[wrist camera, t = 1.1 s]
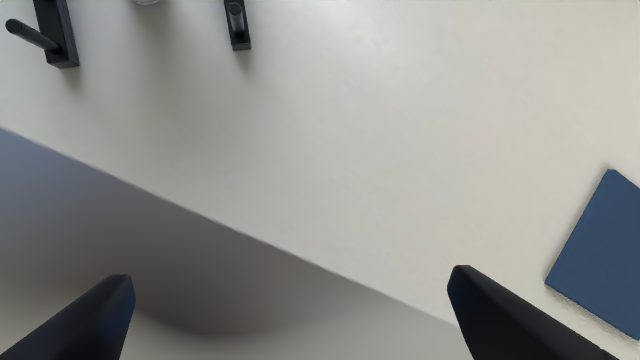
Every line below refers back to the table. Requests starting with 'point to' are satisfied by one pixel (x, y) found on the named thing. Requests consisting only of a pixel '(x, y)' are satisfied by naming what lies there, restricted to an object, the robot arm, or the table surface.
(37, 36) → the drying rack
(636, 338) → the rubber mat
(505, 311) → the robot arm
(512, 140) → the table surface
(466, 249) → the table surface
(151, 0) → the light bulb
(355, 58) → the table surface
